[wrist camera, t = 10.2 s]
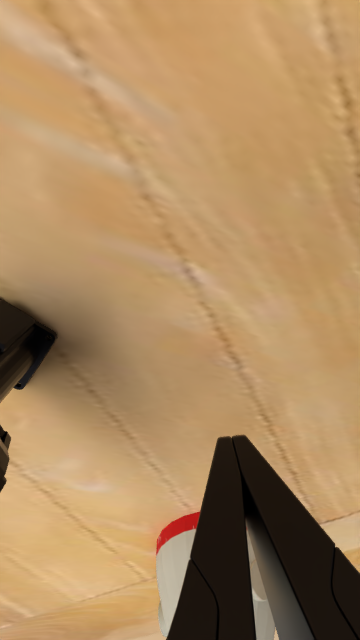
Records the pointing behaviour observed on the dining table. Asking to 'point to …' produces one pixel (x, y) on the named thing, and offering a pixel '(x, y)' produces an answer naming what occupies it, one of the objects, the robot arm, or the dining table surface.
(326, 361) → the dining table surface
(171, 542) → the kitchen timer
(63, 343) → the dining table surface
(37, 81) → the dining table surface
